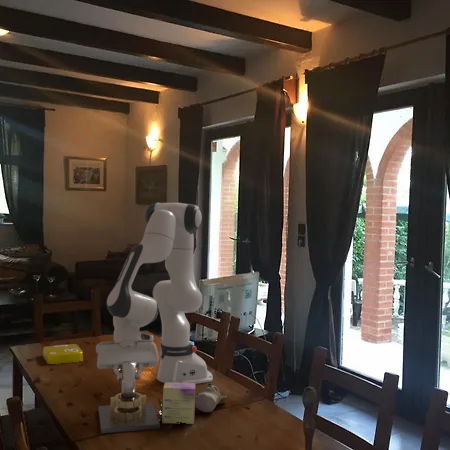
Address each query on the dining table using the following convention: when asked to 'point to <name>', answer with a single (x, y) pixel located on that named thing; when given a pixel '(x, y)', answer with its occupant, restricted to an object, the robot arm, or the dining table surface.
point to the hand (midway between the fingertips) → (129, 378)
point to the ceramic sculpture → (209, 398)
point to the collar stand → (128, 415)
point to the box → (178, 403)
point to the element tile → (62, 354)
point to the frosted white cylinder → (128, 380)
